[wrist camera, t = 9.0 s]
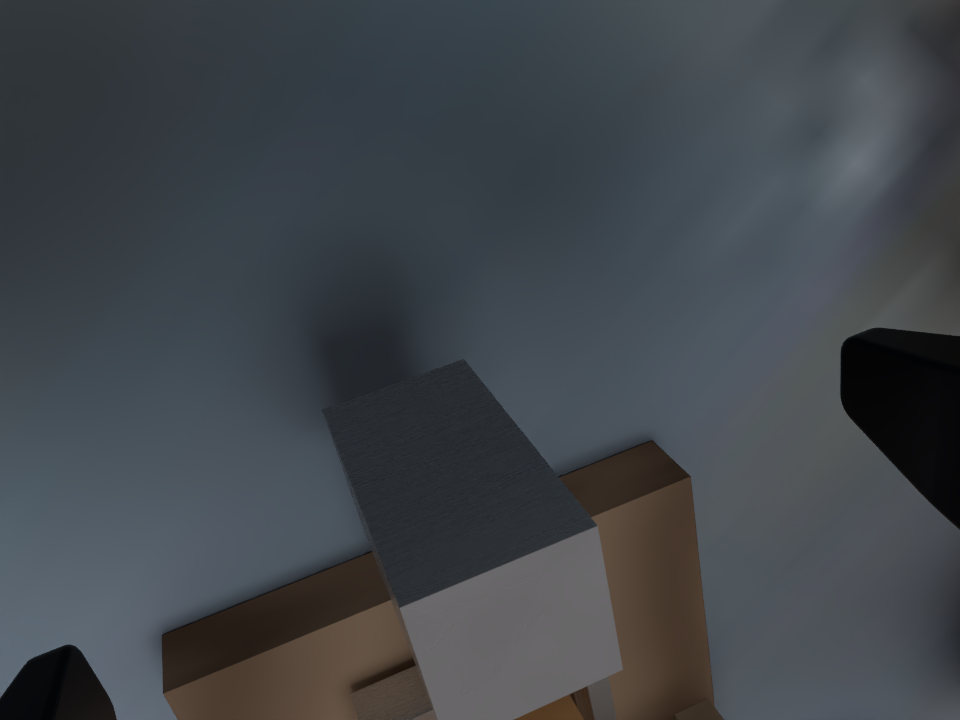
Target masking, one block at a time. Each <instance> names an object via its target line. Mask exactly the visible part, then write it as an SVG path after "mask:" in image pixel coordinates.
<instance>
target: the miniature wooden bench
mask: <svg viewBox="0 0 960 720" xmlns="http://www.w3.org/2000/svg"><path fill="white" fill-rule="evenodd" d="M675 720H724V719H723V718H722V716H721V715H720V714H719V712H718V711H717V710H716V708H715V707H714V706H713V705H712V703H711V702H710V701H709V699H706V700H704V701H702V702H700V703H698V704H696V705H694V706H692V707H689V708H687V709H685V710H683V711H681V712H679V713H677V714H675Z"/></svg>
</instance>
